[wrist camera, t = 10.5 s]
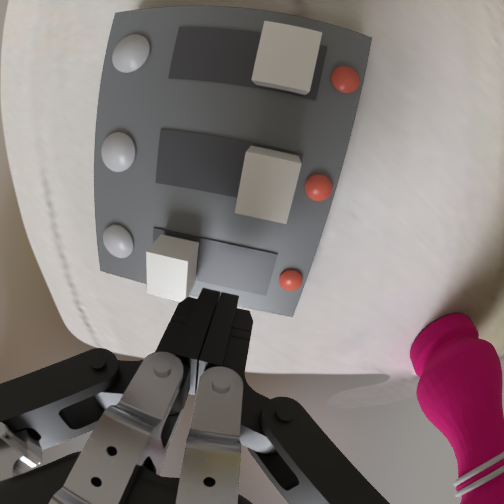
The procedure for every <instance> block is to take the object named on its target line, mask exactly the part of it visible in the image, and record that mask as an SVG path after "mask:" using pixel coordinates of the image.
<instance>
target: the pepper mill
mask: <svg viewBox="0 0 504 504" xmlns="http://www.w3.org/2000/svg"><path fill="white" fill-rule="evenodd" d="M478 336H479V334H478V331H477V329H476V328H475V326H474V324H473V323H472V321H471V319H470V318H469V317H468V316H466V315H465V314H462V313H454V314H450V315H446V316H444V317H442V318H440V319H438V320H436V321H435V322H433V323H432V324H430V325H429V326H428V327H427V328H425V329H424V330H423V331H422V332H421V333H420V334H419V335H418V337H417V338H416V339H415V341H414V343H413V345H412V347H411V350H410V358H411V361H412V364H413V367H414V370H415V372H416V374H417V375H418V376H419V377H421V378H420V380H419V383H418V386H417V399H418V401H419V404H420V406H421V409H422V411H423V412H424V414H425V415H426V417H427V418H428V419H429V420H430V422H431V423H432V424H433V425H434V426H436V427H437V428H438V429H439V430H440V431H441V432H442V433H443V435H444V436H445V437H446V438H447V439H448V441H449V442H450V444H451V446H452V447H453V449H454V452H455V456H456V459H457V462H458V476H459V479H457V480H456V481H455V482H454V486H457V487H456V490H457V491H458V492H457V493H456V494H455V496H456V497H460V496H462V500H461V503H460V504H504V417H503V409H502V370H501V364H500V360H499V357H498V355H497V352H496V350H495V348H494V347H493V345H492V344H491V343H489V342H488V341H485V340H482V339H478Z"/></svg>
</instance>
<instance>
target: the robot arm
mask: <svg viewBox="0 0 504 504" xmlns="http://www.w3.org/2000/svg"><path fill="white" fill-rule="evenodd" d="M220 294H221V295H220ZM238 300H239V296H238V295H233V294H229V293H225V292H222V293H221V292H220V291H215V290H211V289H207V288H202V290H201V293H200V295H199V297H198V299H195V298H191V297H187V298H185V299H184V300H183V301H181V302H180V303H179V304H178V306H177V308H176V310H175V312H174V315H173V316H172V318H171V321H170V322H169V324H168V327H167V329H166V331H165V333H164V335H163V337H162V339H161V341H160V343H159V345H158V348H157V349H156V351H155V352H154V353H152V354H150V355H148V356H147V357H146V358H145V359H144V360H141V361H120V360H117V358H116V356H115V355H114V354H113V353H112V352H110V351H109V350H107V349H103V348H95V349H91V350H89V351H86V352H84V353H81V354H79V355H76V356H74V357H71V358H69V359H66V360H63V361H61V362H58V363H56V364H53V365H50V366H48V367H45V368H42V369H40V370H37V371H35V372H32V373H29V374H26V375H24V376H21V377H18V378H16V379H13V380H10V381H7V382H4V383H2V384H0V504H252V503H251V502H250V501H249V500H247V499H246V498H244V497H243V496H241V495H239V494H238V490H239V476H240V462H241V444H242V445H244V446H246V447H247V448H248V450H249V452H250V453H251V455H252V456H253V457H254V459H255V460H256V462H257V463H258V464H259V465H260V467H261V468H262V470H263V471H264V473H265V474H266V475H267V477H268V478H269V479H270V481H271V482H272V483H273V485H274V486H275V487H276V488H277V490H278V491H279V492H280V493H281V495H282V496H283V497H284V498H285V500H286V501H287V502H288V503H289V504H390V503H389V502H388V501H387V500H386V499H385V498H384V497H383V496H381V494H380V493H379V492H378V491H377V490H376V489H375V488H374V487H373V486H372V485H371V484H370V483H369V482H368V481H367V480H366V479H365V478H364V477H363V476H362V474H361V473H360V472H359V471H358V470H357V469H356V468H355V467H354V466H353V465H352V464H351V462H350V461H349V460H348V459H347V458H346V457H345V456H344V455H343V454H342V452H341V451H340V450H339V449H338V448H337V447H336V446H335V445H334V443H333V442H332V441H331V440H330V439H329V438H328V436H327V435H326V434H325V433H324V432H323V431H322V429H321V428H320V427H319V426H318V425H317V424H316V423H315V421H314V420H313V419H312V418H311V417H310V415H309V414H308V413H307V412H306V410H305V409H304V408H303V407H302V406H301V405H300V404H299V403H298V402H297V401H295V400H294V399H291V398H288V397H276V398H273V399H269V398H267V397H265V396H263V395H260V394H259V393H256V392H255V391H254V390H253V389H252V388H251V387H250V386H249V385H248V384H247V382H246V379H245V366H246V360H247V354H248V348H249V342H250V336H251V330H252V324H253V320H252V317H251V314H250V311H247V310H242V309H238V308H237V305H238ZM196 390H197V395H196V400H195V405H194V410H193V416H192V421H191V426H190V431H189V434H188V437H187V441H186V446H185V452H184V458H183V463H182V469H181V474H180V478H169V477H161V476H160V473H161V470H162V468H163V466H164V462H165V458H166V453H167V449H168V447H169V444H170V442H171V439H172V437H173V435H174V432H175V430H176V427H177V425H178V422H179V420H180V418H181V415H182V413H183V410H184V406H185V403H186V400H187V396H188V394H192V395H195V393H196ZM91 430H93V432H92V433H91V435H90V437H89V439H88V441H87V443H86V444H85V446H84V448H83V450H82V451H80V452H76V453H72V454H69V455H67V456H65V457H63V458H60V459H58V460H56V461H53V462H51V463H48V464H46V465H43V466H41V467H38V468H36V469H33V470H31V469H32V468H33V467H35V466H36V465H38V464H40V463H41V462H42V450H44V449H47V448H49V447H52V446H55V445H57V444H60V443H62V442H65V441H67V440H70V439H72V438H75V437H77V436H80V435H82V434H84V433H87V432H89V431H91ZM30 470H31V471H30Z"/></svg>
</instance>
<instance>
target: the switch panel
mask: <svg viewBox="0 0 504 504" xmlns="http://www.w3.org/2000/svg"><path fill="white" fill-rule="evenodd" d="M264 21H270V22H276V23H282V24H287V25H292V26H297V27H302V28H306V29H311V30H315V31H319V32H322V37H321V41H320V46H319V51H318V56H317V60H316V65H315V70H314V74H313V79H312V83H311V88H310V92H309V93H307V94H306V95H303V94H299V93H294V92H290V91H285V90H281V89H276V88H271V87H265V86H260V85H256V84H255V83H254V82H253V81H252V80H251V79H252V74H253V70H254V65H255V60H256V56H257V51H258V47H259V42H260V38H261V34H262V29H263V25H264ZM371 40H372V38H371V37H369V36H366V35H363V34H360V33H357V32H354V31H351V30H348V29H345V28H342V27H339V26H335V25H332V24H328V23H324V22H321V21H317V20H312V19H308V18H304V17H299V16H294V15H289V14H284V13H278V12H271V11H264V10H257V9H248V8H237V7H222V6H173V7H158V8H148V9H139V10H131V11H125V12H118V13H115V16H114V20H113V24H112V28H111V32H110V36H109V40H108V45H107V50H106V55H105V60H104V65H103V71H102V77H101V84H100V92H99V100H98V109H97V119H96V133H95V154H94V198H95V220H96V233H97V245H98V254H99V263H100V271H103V272H106V273H110V274H113V275H117V276H120V277H124V278H127V279H131V280H134V281H138V282H142V283H145V284H147V270H146V251H147V250H148V249H149V248H150V247H151V245H152V244H153V243H154V242H155V241H156V240H157V238H158V237H159V236H160V235H161V234H162V235H166V236H171V237H176V238H180V239H185V240H189V241H194V242H199V248H198V257H197V268H196V278H195V284H194V286H193V288H192V290H191V292H190V294H189V295H192V296H196V297H199V295H200V293H201V290H202V288H207V289H211V290H215V291H220V292H221V293H222V292H225V293H229V294H233V295H238V296H239V300H238V305H237V306H240V307H245V308H249V309H254V310H259V311H264V312H269V313H274V314H279V315H284V316H290V317H293V315H294V312H295V309H296V307H297V304H298V301H299V299H300V296H301V293H302V290H303V288H304V285H305V282H306V279H307V276H308V274H309V271H310V268H311V265H312V262H313V259H314V256H315V253H316V250H317V247H318V244H319V241H320V238H321V235H322V232H323V229H324V226H325V223H326V219H327V216H328V213H329V210H330V207H331V203H332V200H333V197H334V193H335V190H336V187H337V183H338V180H339V176H340V173H341V169H342V166H343V162H344V158H345V155H346V151H347V147H348V143H349V139H350V136H351V132H352V128H353V124H354V120H355V116H356V111H357V107H358V103H359V99H360V94H361V90H362V85H363V80H364V76H365V71H366V66H367V61H368V56H369V51H370V45H371ZM250 146H256V147H261V148H266V149H271V150H275V151H280V152H284V153H289V154H293V155H297V156H299V158H300V160H301V163H302V165H301V169H300V173H299V177H298V181H297V185H296V189H295V193H294V197H293V200H292V204H291V208H290V212H289V216H288V220H287V224H283V223H278V222H274V221H269V220H264V219H260V218H255V217H251V216H246V215H241V214H236V213H235V208H236V202H237V197H238V191H239V186H240V180H241V175H242V169H243V164H244V159H245V154H246V151H247V150H248V149H249V147H250ZM220 295H221V294H220Z"/></svg>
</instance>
